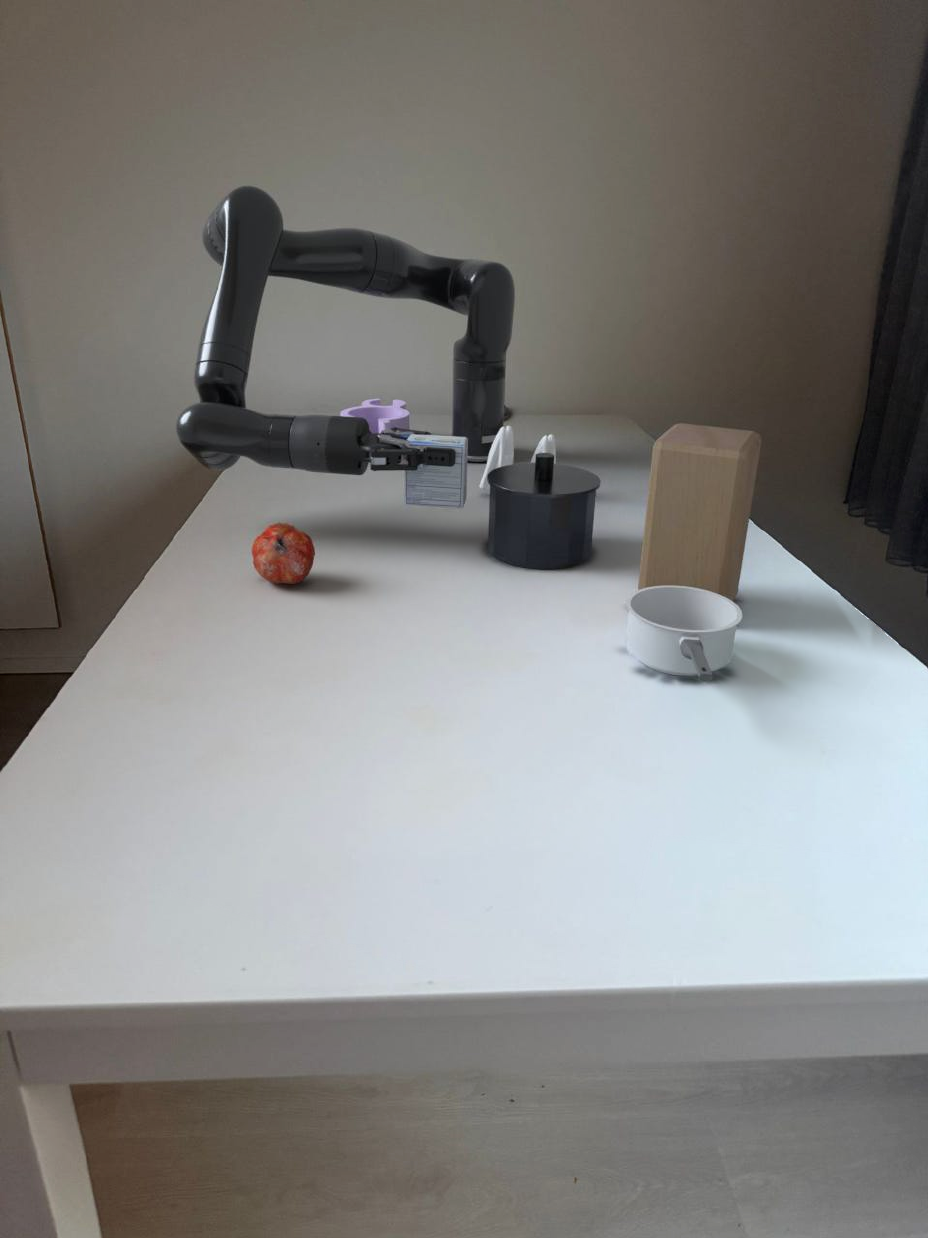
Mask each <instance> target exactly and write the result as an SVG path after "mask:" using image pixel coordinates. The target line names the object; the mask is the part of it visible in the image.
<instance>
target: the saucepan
mask: <svg viewBox="0 0 928 1238" xmlns="http://www.w3.org/2000/svg"><path fill="white" fill-rule="evenodd" d="M625 606H626V608H627V610H628V615H627V625H626V635H625V648H626V650H627V651H626V652H628V653H629V654H630V656H632V657H633V658H634V659H636V660H637V661H639V662H641V663H642V664H643V665H644V666H646V667H648V668H650V669H652V670H654V671H657V672H660V673H663V674H669V675H671V676H680V677H681V676H682V677H692V676H698V678H699V680H700V681H701V682H702V683H709V682H711V681H713V679H714V675H713V672H714V671H717V670H720V669H722V668H724V667H726V666H727V665H728V664H729V663H730V661H731V659H732V657H733V650H734V644H735V638H736V633H737V626H738V624H739V623H740V622H741V620H742V618H743V613H742V612H743V611H742V609H741V608H740V606H739V605H738V604H736V603H735V602H734V601H731V600H729V599H728V598H726V597H724V596H721V595H719V594H717V593H714V592H710V591H707V590H703V589H699V588H693V587H686V586H666V585H665V586H654V587H647V588H644V589H640V590H638V589H637V590H636V591H633V592H632V593H631V594H629V595H628V596H627V598H626V600H625Z"/></svg>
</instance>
